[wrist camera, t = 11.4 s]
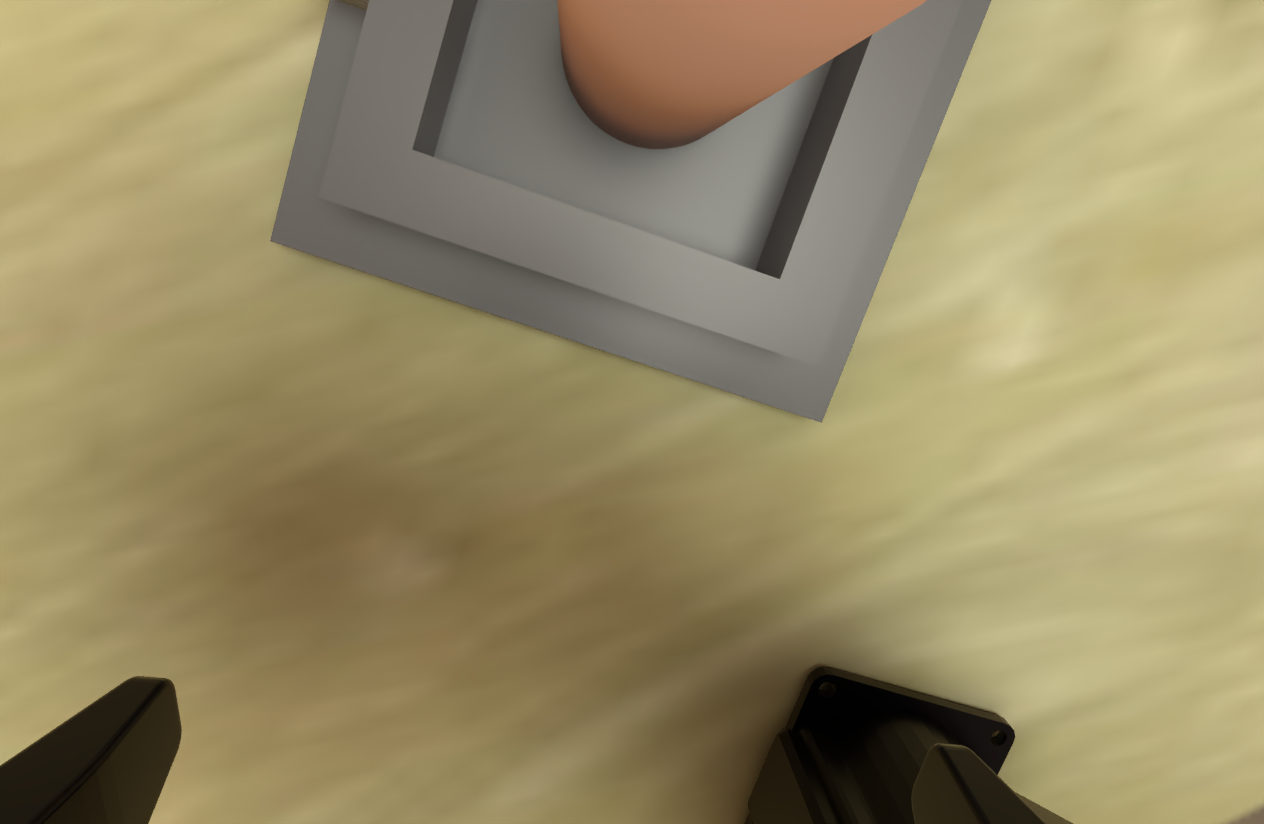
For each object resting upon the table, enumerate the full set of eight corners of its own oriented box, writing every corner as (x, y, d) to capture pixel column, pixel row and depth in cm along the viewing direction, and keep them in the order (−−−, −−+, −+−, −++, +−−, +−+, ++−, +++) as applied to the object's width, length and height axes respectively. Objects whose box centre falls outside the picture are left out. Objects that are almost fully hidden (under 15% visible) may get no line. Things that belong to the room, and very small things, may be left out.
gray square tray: (1031, -142, 19) (1129, -218, 16) (810, 413, 22) (853, 449, 19) (446, -407, 17) (415, -559, 14) (285, 240, 20) (225, 244, 17)
